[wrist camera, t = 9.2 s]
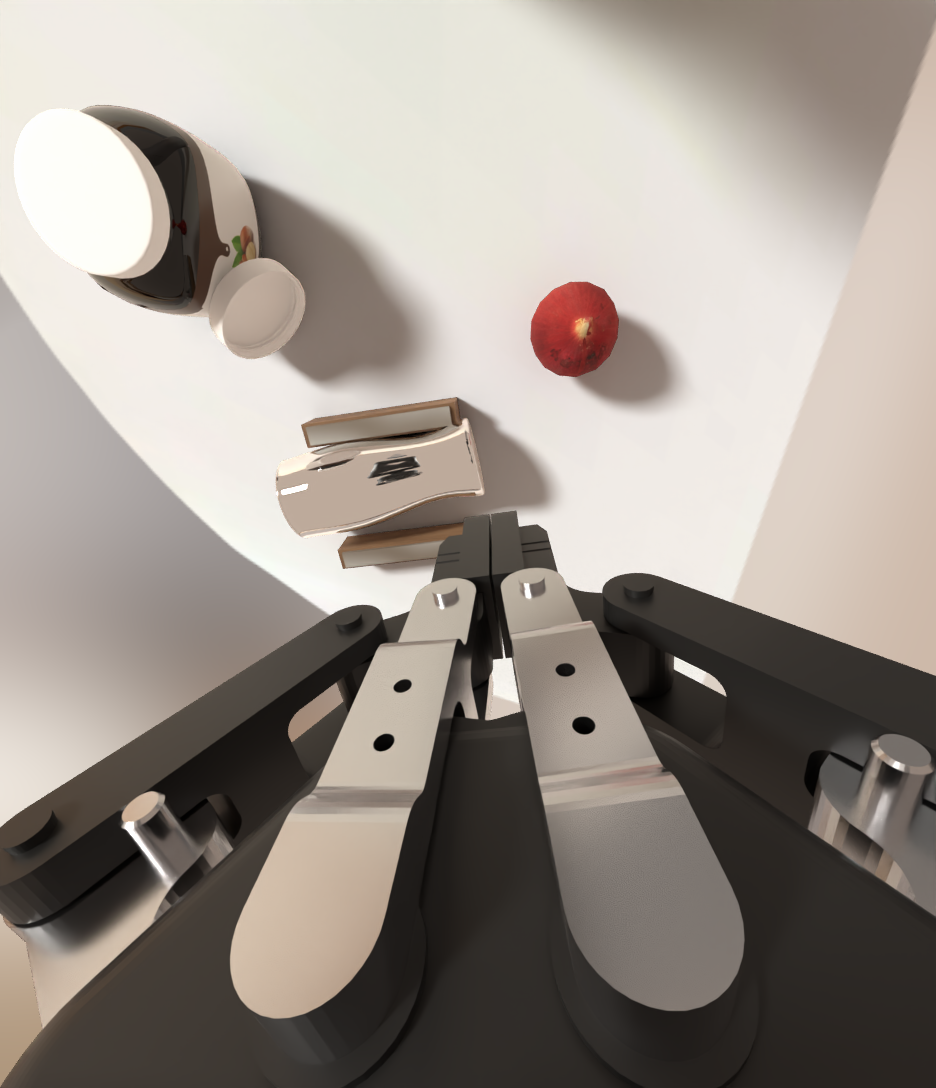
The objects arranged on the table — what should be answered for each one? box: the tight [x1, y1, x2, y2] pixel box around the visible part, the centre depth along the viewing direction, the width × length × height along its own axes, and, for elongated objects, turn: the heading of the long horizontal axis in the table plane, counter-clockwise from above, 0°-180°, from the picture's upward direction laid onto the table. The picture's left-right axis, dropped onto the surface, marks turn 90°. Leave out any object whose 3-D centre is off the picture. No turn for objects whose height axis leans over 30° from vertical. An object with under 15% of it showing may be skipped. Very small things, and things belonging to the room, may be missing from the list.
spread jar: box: [14, 105, 306, 359], centre depth 29 cm, size 12×11×12 cm
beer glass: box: [276, 418, 485, 538], centre depth 37 cm, size 7×7×15 cm
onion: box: [531, 282, 619, 377], centre depth 31 cm, size 6×6×8 cm
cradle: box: [301, 397, 464, 569], centre depth 39 cm, size 13×12×3 cm
